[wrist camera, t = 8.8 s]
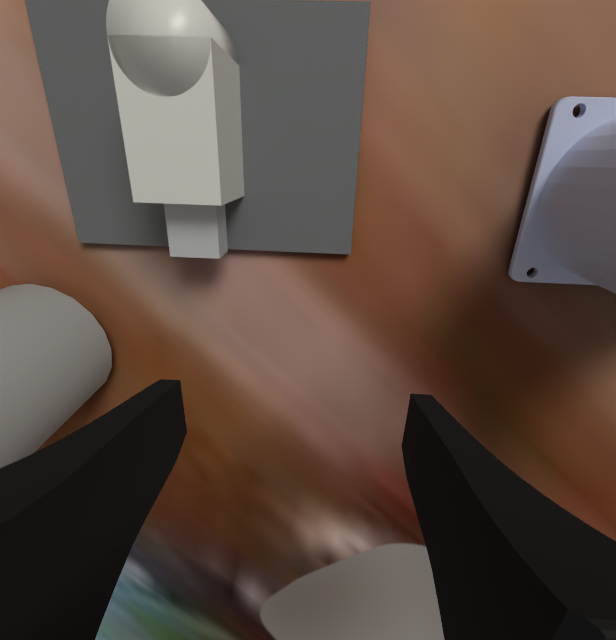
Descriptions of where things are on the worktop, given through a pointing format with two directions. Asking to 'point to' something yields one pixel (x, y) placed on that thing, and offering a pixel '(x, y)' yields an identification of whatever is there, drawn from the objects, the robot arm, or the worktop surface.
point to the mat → (256, 117)
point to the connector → (179, 116)
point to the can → (45, 365)
